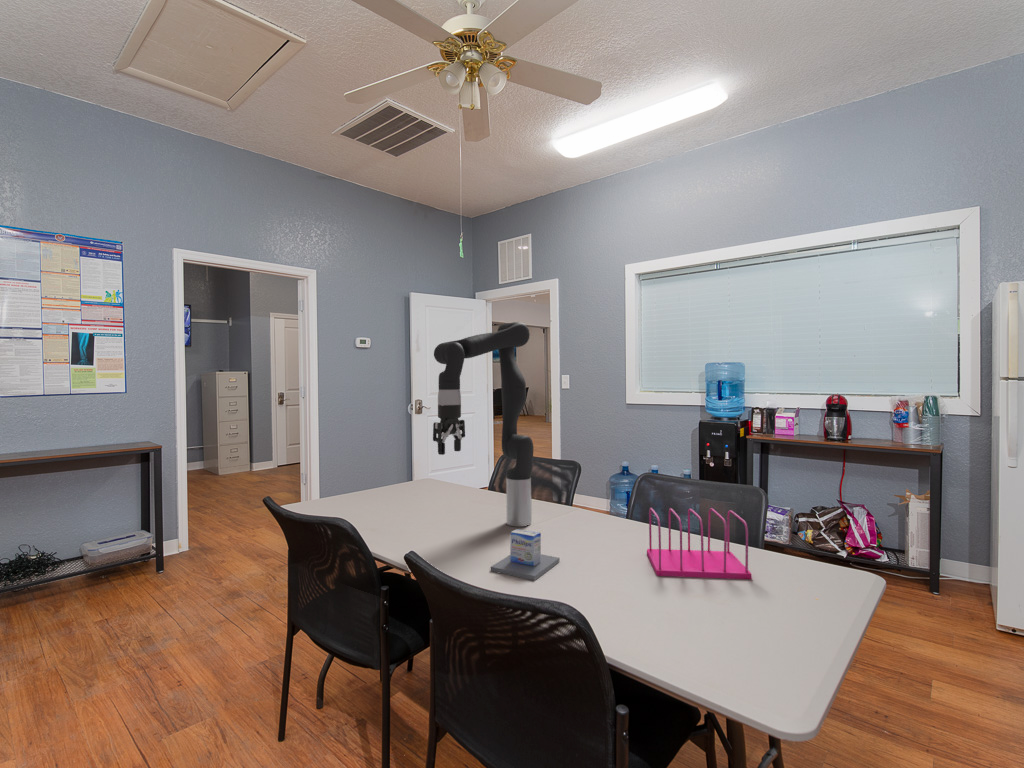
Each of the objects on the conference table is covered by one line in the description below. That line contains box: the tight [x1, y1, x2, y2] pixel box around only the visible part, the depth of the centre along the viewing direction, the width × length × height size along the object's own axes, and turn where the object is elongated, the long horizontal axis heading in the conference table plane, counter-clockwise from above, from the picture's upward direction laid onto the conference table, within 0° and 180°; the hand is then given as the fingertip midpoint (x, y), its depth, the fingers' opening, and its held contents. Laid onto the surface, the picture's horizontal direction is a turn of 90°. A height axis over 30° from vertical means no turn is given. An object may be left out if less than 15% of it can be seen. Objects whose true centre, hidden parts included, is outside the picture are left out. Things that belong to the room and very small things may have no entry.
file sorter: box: [646, 507, 753, 580], centre depth 145 cm, size 17×25×16 cm
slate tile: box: [490, 553, 560, 582], centre depth 145 cm, size 16×14×1 cm
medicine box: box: [509, 528, 542, 566], centre depth 145 cm, size 8×4×9 cm, turn 60°
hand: (449, 452), depth 165 cm, fingers open, 8 cm apart
